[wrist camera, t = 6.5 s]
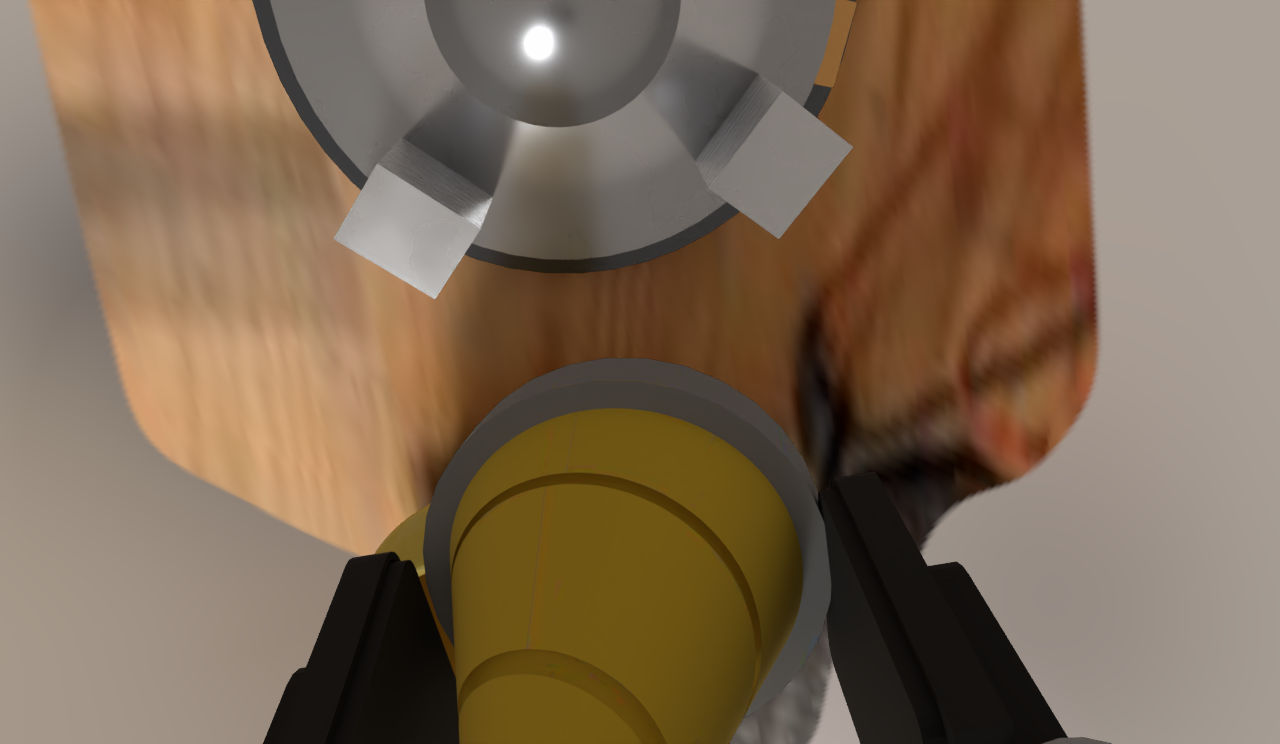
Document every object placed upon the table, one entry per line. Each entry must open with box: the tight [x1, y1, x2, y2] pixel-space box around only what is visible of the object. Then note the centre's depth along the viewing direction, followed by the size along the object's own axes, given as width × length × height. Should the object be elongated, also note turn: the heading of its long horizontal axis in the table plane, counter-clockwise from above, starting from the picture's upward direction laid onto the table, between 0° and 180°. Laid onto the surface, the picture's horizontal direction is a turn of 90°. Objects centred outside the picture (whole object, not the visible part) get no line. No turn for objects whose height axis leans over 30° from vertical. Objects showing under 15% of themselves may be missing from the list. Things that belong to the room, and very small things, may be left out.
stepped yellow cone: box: [423, 358, 831, 744], centre depth 10 cm, size 5×5×10 cm
